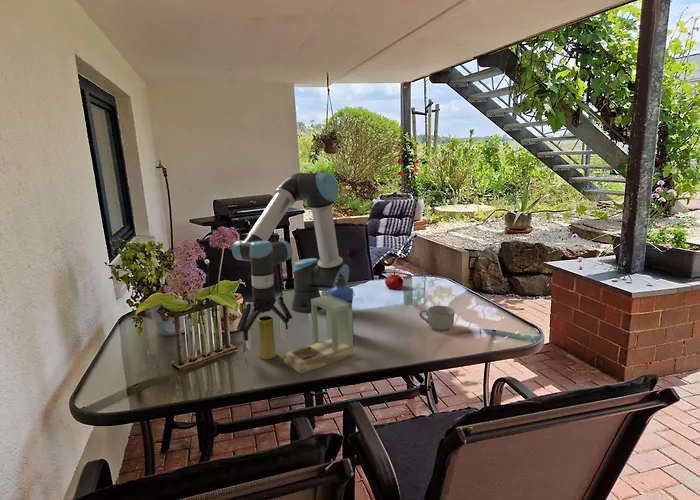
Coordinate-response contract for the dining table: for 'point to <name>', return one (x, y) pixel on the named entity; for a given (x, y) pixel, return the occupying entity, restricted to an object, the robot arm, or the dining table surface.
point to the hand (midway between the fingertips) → (266, 343)
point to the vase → (266, 338)
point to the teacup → (439, 317)
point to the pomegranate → (394, 281)
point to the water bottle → (342, 291)
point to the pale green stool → (334, 320)
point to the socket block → (316, 355)
